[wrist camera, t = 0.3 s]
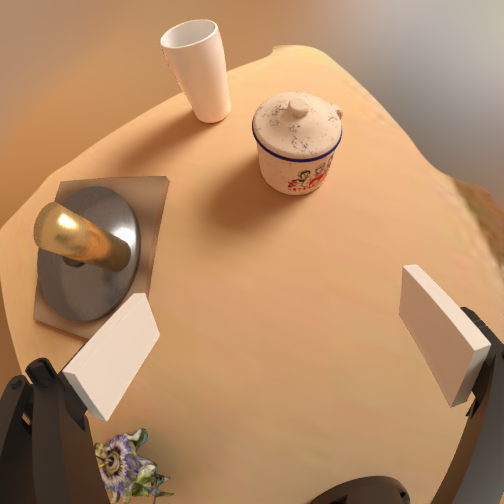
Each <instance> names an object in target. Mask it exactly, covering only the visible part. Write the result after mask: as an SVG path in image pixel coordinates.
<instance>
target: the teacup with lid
mask: <svg viewBox="0 0 504 504" xmlns="http://www.w3.org/2000/svg"><path fill="white" fill-rule="evenodd" d="M342 114H343V111H342V109H341V108H340V107H339V106H337V105H329V104H328V103H327V102H325V101H324V100H322V99H321V98H319V97H316V96H314V95H311V94H308V93H302V92H286V93H281V94H278V95H275V96H273V97H271V98H269V99H267V100H266V101H265V102H263V103H262V104H261V105H260V106H259V108H258V109H257V111H256V113H255V115H254V117H253V121H252V131H253V135H254V137H255V139H256V142H257V149H258V156H259V164H260V170H261V173H262V176H263V177H264V179H265V181H266V182H267V183H268V184H269V185H270V186H271V187H273V188H274V189H276V190H277V191H279V192H282V193H285V194H289V195H302V194H307V193H310V192H312V191H314V190H316V189H317V188H318V187H320V186H321V185H322V183H323V182H324V181H325V179H326V177H327V174H328V171H329V168H330V165H331V161H332V158H333V155H334V152H335V149H336V147H337V146H338V144H339V142H340V140H341V136H342V126H341V122H340V120H341V118H342Z"/></svg>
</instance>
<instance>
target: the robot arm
mask: <svg viewBox="0 0 504 504" xmlns="http://www.w3.org/2000/svg"><path fill="white" fill-rule="evenodd" d="M399 316H400V317H401V319H402V320H403V322H404V324H405V325H406V327H407V329H408V330H409V332H410V334H411V335H412V337H413V339H414V340H415V342H416V344H417V346H418V347H419V349H420V351H421V353H422V354H423V356H424V358H425V360H426V362H427V364H428V365H429V367H430V369H431V371H432V373H433V375H434V377H435V379H436V380H437V382H438V384H439V386H440V388H441V390H442V392H443V394H444V396H445V398H446V400H447V402H448V404H449V407H450V408H451V407H454V406H456V405H459V404H462V403H464V402H466V401H467V399H468V397H469V395H470V393H471V391H472V392H473V394H474V395H475V397H476V398H475V400H474V401H473V403H472V405H471V407H470V409H469V411H468V412H467V414H466V416H468V415H469V417H468V420H467V423H466V426H465V429H464V432H463V435H462V437H461V440H460V443H459V445H458V448H457V450H456V453H455V455H454V458H453V460H452V462H451V464H450V467H449V469H448V471H447V473H446V475H445V477H444V479H443V481H442V483H441V485H440V487H439V489H438V491H437V493H436V495H435V497H434V498H433V500H432V502H431V504H499V503H500V500H501V497H502V494H503V492H504V344H502V342H501V341H500V340H499V339H498V338H497V337H496V336H495V334H494V333H493V332H492V331H491V330H490V329H489V328H488V326H485V323H484V322H483V321H482V320H480V318H479V317H478V316H477V315H476V314H475V312H473V311H472V310H470V309H468V308H466V307H461V308H459V307H458V306H457V305H456V303H455V302H454V301H453V300H452V299H451V298H450V297H449V296H448V295H447V294H446V293H445V292H444V291H443V290H442V289H441V288H440V287H439V286H438V285H437V284H436V283H435V282H434V281H433V280H432V279H431V278H430V277H429V276H428V275H427V274H426V273H425V272H424V271H423V270H422V269H421V268H420V267H419V266H418V265H417V264H414V265H407V266H403V273H402V287H401V299H400V308H399ZM159 336H160V333H159V331H158V328H157V325H156V323H155V320H154V317H153V314H152V311H151V309H150V306H149V303H148V300H147V297H146V294H145V293H134V294H133V295H132V296H131V297H130V298H129V299H128V300H127V301H126V302H125V303H124V304H123V305H122V306H121V307H120V308H119V309H118V310H117V311H116V312H115V313H114V314H113V315H112V316H111V318H110V319H109V320H108V321H107V322H106V323H105V324H104V325H103V326H102V327H101V328H100V329H99V330H98V331H97V333H96V334H95V335H94V336H93V337H92V338H91V339H90V340H89V341H88V342H87V343H85V344H84V345H83V346H82V347H81V348H80V349H79V351H78V352H77V353H76V354H75V355H74V356H73V358H71V359H70V361H69V362H68V363H67V364H66V365H65V366H64V367H63V369H62V370H61V371H60V372H59V373H58V374H57V373H56V372H55V370H54V368H53V367H52V365H51V363H50V362H49V360H48V359H47V358H38V359H36V360H34V361H33V362H31V363H30V364H29V365H28V366H27V368H26V370H25V372H26V373H27V375H28V376H29V378H30V379H31V381H32V382H33V384H30V383H29V382H28V380H27V378H26V377H25V376H24V375H19V376H15V377H13V378H12V379H11V380H10V381H9V383H8V384H7V386H6V389H5V390H4V393H3V395H2V397H1V400H0V504H111V503H110V501H109V498H108V495H107V492H106V489H105V486H104V483H103V480H102V476H101V473H100V469H99V466H98V462H97V458H96V454H95V450H94V446H93V442H92V437H91V432H90V427H89V422H88V419H87V417H86V415H85V412H86V411H87V409H88V410H89V412H90V413H91V414H92V416H93V417H94V418H96V419H99V420H103V421H106V422H107V421H108V420H109V418H110V416H111V414H112V413H113V411H114V409H115V408H116V406H117V404H118V403H119V401H120V399H121V398H122V396H123V394H124V393H125V391H126V389H127V388H128V386H129V384H130V383H131V381H132V380H133V378H134V376H135V375H136V373H137V371H138V370H139V368H140V367H141V365H142V363H143V362H144V360H145V359H146V357H147V355H148V354H149V352H150V351H151V349H152V347H153V346H154V344H155V343H156V341H157V340H158V338H159ZM23 413H24V414H25V416H26V417H27V418H28V419H29V420H30V423H29V425H28V424H27V423H26V422H25V421H24V420H23V419H22V416H23ZM311 504H410V497H409V494H408V492H407V491H406V489H405V488H404V487H403V485H402V484H401V483H400V482H399V481H397V480H395V479H393V478H390V477H385V476H371V477H364V478H359V479H355V480H352V481H349V482H346V483H343V484H341V485H338V486H336V487H334V488H332V489H330V490H328V491H327V492H325V493H324V494H322V495H321V496H319V497H318V498H317V499H315V500H314V501H313V502H312V503H311Z"/></svg>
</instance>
